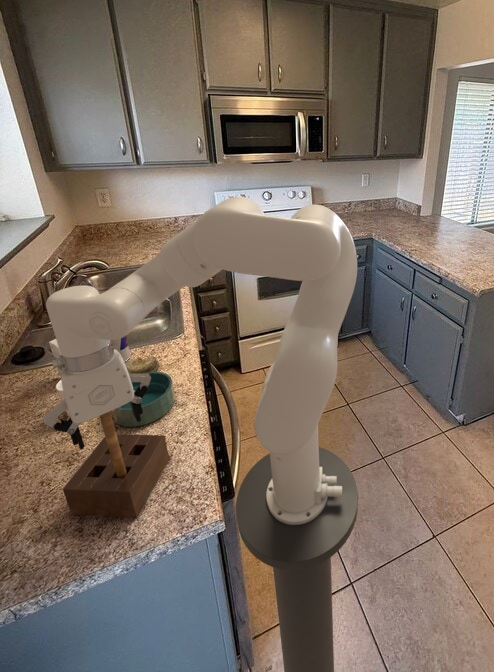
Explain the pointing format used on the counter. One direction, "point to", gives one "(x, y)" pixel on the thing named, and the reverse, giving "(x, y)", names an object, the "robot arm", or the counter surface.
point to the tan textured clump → (142, 365)
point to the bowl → (149, 401)
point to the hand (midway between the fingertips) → (110, 430)
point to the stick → (113, 445)
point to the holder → (117, 493)
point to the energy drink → (122, 348)
